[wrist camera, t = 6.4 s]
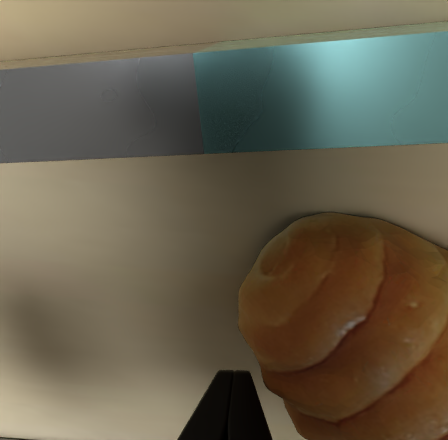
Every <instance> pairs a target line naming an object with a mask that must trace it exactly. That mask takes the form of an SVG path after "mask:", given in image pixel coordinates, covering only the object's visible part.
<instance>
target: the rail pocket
mask: <svg viewBox="0 0 448 440" xmlns="http://www.w3.org/2000/svg"><path fill="white" fill-rule="evenodd" d="M432 143H448V21H445V22H434V23H423V24H411V25H400V26H389V27H378V28H367V29H356V30H345V31H334V32H322V33H311V34H300V35H289V36H278V37H267V38H256V39H245V40H233V41H222V42H211V43H200V44H189V45H178V46H167V47H156V48H144V49H133V50H122V51H111V52H100V53H89V54H78V55H67V56H55V57H44V58H33V59H22V60H11V61H0V163H16V162H38V161H60V160H82V159H104V158H126V157H148V156H170V155H191V154H213V153H235V152H257V151H279V150H301V149H323V148H345V147H367V146H389V145H410V144H432ZM0 440H17V439H3V438H0Z"/></svg>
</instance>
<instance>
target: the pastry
mask: <svg viewBox="0 0 448 440" xmlns="http://www.w3.org/2000/svg"><path fill="white" fill-rule="evenodd" d="M238 302H239V305H238V312H239V318H238V328H239V330H240V332H241V334H242V335H243V337H244V339H245V341H246V342H247V344H248V345H249V346H250V348H251V349H252V350H253V352H254V354H255V356H256V358H257V360H258V362H259V364H260V367H261V372H262V378H263V381H264V384H265V386H266V388H267V389H268V390H270V391H271V392H273V393H274V394H276V395H278V396H279V397H281V398H283V401H284V404H285V408H286V409H287V411H288V413H289V415H290V417H291V419H292V421H293V423H294V425H295V427H296V430H297V432H298V433H299V434H300V435H301V436H303V437H304V438H305V439H308V440H448V250H446V249H443V248H441V247H439V246H437V245H434V244H432V243H430V242H428V241H426V240H424V239H422V238H420V237H418V236H416V235H414V234H413V233H411V232H409V231H407V230H404V229H402V228H400V227H398V226H395V225H393V224H391V223H388V222H386V221H383V220H380V219H375V218H366V217H358V216H351V215H346V214H340V213H334V212H327V213H320V214H316V215H312V216H308V217H303V218H300V219H298V220H296V221H295V222H293V223H292V224H291V225H289V226H288V227H287V228H286V229H285V230H283V231H282V232H281V233H279V234H278V235H276V236H275V237H274V238H272V239H271V240H270V241H269V242H268V243H267V244H266V245H265V246H264V248H263V249H262V250H261V252H260V254H259V256H258V258H257V260H256V262H255V263H254V265H253V267H252V269H251V271H250V272H249V274H248V275H247V277H246V279H245V280H244V282H243V283H242V285H241V287H240V290H239V295H238Z"/></svg>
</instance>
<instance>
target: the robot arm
mask: <svg viewBox="0 0 448 440" xmlns="http://www.w3.org/2000/svg"><path fill="white" fill-rule="evenodd" d="M177 440H272V437H271V434H270V431H269V428H268V425H267V422H266V419H265V416H264V413H263V410H262V406H261V403H260V400H259V397H258V394H257V391H256V388H255V385H254V382H253V379H252V376H251V373H250V372H249V371H247V370H236V371H234V370H219V371H218V372H217V374H216V375H215V377H214V379H213V380H212V382H211V384H210V385H209V387H208V389H207V390H206V392H205V394H204V396H203V397H202V399H201V401H200V402H199V404H198V406H197V407H196V409H195V411H194V412H193V414H192V416H191V417H190V419H189V421H188V423H187V424H186V426H185V428H184V429H183V431H182V433H181V434H180V436H179V438H178V439H177Z"/></svg>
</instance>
